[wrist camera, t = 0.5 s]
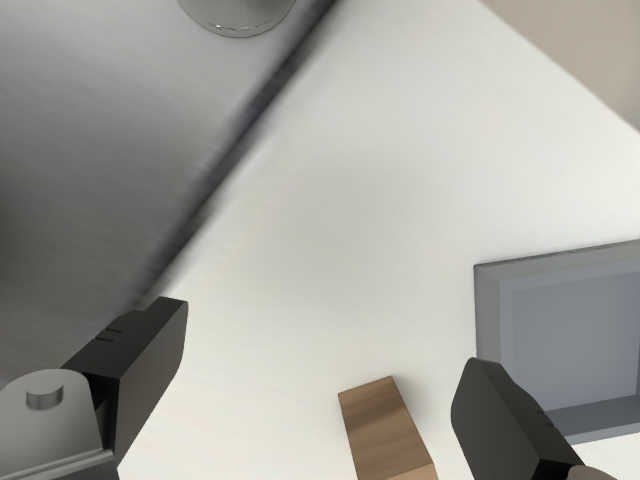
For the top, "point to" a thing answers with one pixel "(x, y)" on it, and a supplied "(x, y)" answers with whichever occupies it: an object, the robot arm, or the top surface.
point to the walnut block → (384, 434)
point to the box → (568, 334)
